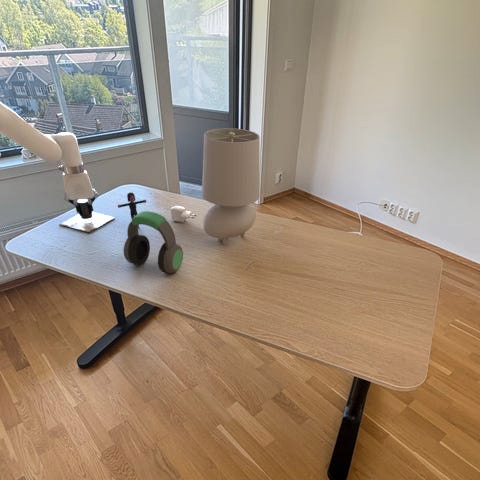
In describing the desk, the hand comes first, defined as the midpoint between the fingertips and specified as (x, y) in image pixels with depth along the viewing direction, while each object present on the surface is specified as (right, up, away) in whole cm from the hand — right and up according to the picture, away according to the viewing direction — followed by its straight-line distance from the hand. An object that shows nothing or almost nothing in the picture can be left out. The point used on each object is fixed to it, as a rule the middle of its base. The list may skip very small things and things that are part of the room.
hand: (85, 212), depth 147 cm
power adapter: (+41, -2, +7) cm, 42 cm away
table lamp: (+62, -13, -4) cm, 63 cm away
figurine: (+21, -6, +1) cm, 22 cm away
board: (0, -3, +3) cm, 4 cm away
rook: (0, -1, +1) cm, 2 cm away
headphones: (+35, -26, -22) cm, 49 cm away
